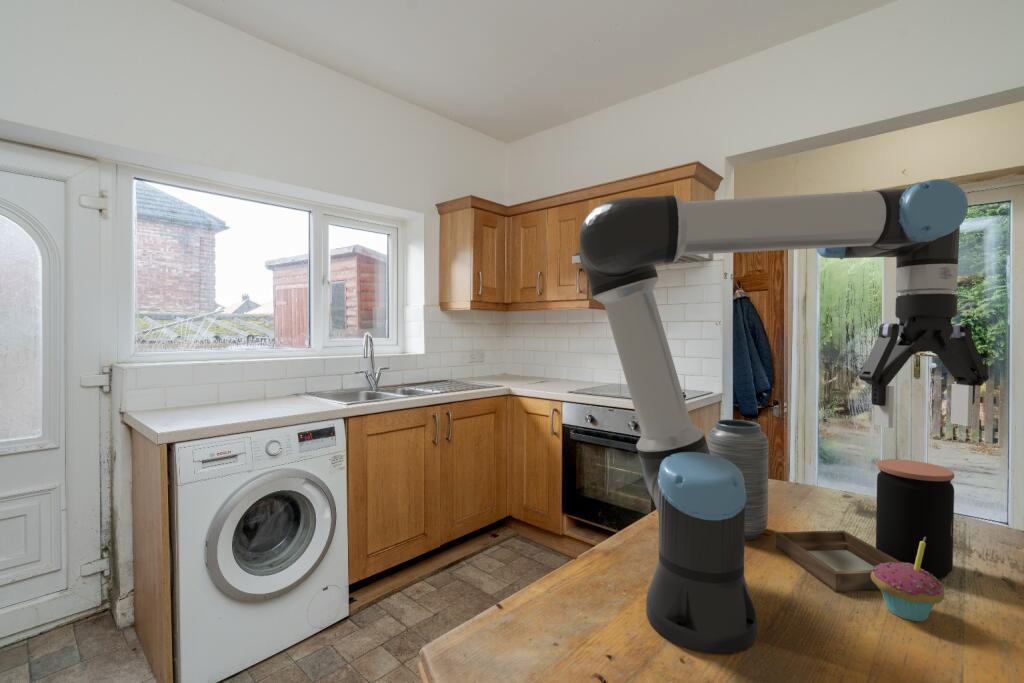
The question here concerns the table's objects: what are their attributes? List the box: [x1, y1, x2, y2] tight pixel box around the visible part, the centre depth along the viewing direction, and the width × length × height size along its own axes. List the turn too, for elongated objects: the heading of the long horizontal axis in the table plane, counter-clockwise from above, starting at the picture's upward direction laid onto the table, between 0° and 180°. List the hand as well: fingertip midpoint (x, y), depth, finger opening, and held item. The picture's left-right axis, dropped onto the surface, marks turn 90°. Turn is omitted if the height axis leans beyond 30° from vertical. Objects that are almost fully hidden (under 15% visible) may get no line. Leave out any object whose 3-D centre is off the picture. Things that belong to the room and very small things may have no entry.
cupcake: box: [871, 537, 945, 622], centre depth 72 cm, size 9×8×12 cm
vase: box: [707, 419, 770, 541], centre depth 101 cm, size 12×12×23 cm
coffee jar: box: [875, 458, 955, 580], centre depth 86 cm, size 11×11×18 cm
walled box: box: [775, 529, 902, 593], centre depth 86 cm, size 14×16×3 cm
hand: (922, 425), depth 77 cm, fingers open, 13 cm apart
